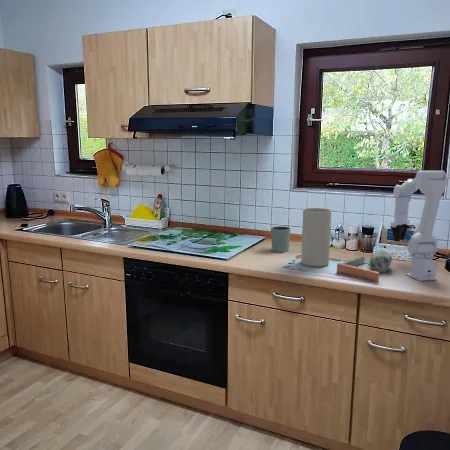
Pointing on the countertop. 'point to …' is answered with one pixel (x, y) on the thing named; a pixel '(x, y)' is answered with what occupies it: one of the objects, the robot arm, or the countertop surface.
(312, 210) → the cylinder vase
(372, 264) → the grey-green rounded piece
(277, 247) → the green cup
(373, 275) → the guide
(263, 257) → the countertop surface
